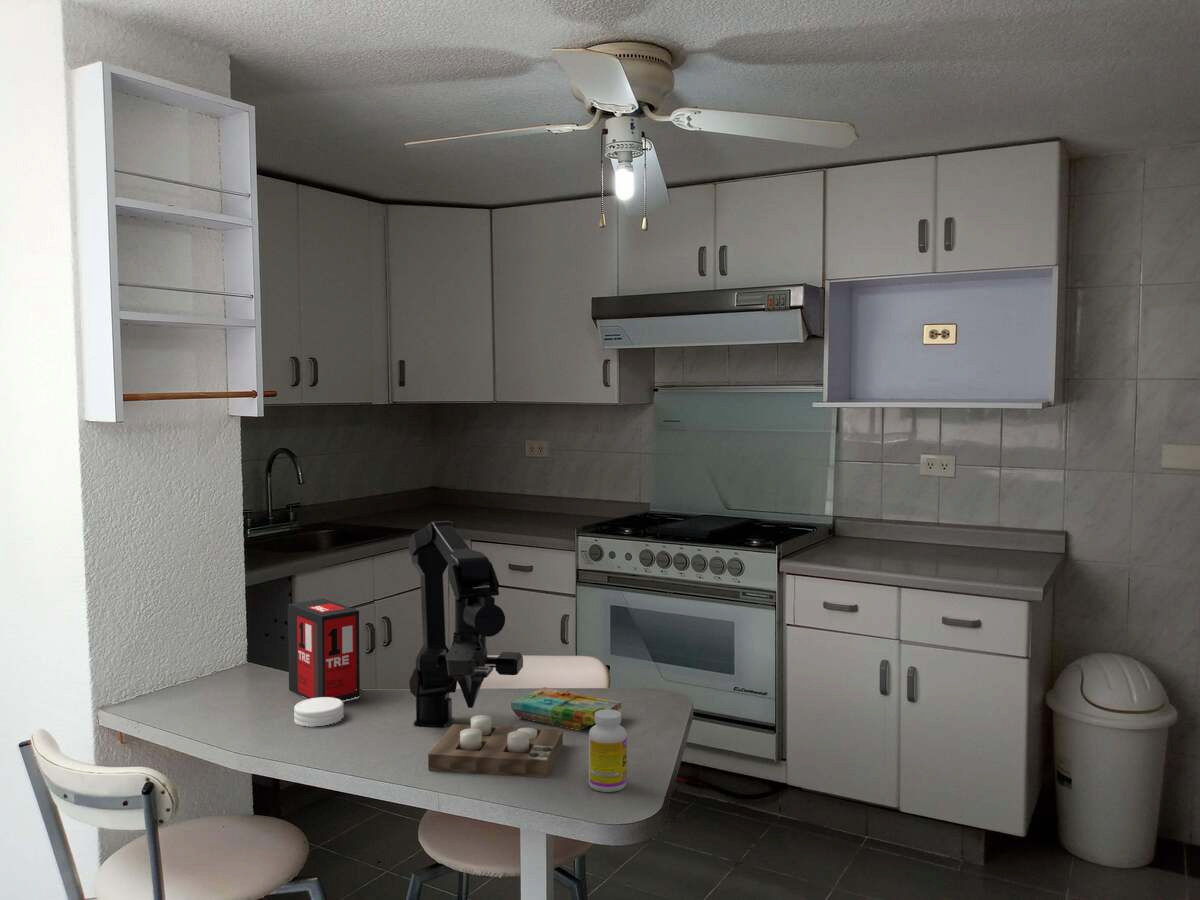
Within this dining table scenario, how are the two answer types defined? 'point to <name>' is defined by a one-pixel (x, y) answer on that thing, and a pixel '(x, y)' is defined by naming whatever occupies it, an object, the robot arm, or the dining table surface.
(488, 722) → the inner button
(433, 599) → the robot arm
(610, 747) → the supplement bottle
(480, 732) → the outer button
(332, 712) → the white short cylinder
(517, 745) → the outer button
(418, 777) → the dining table surface
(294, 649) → the cleaning product box
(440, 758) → the button board
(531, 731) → the inner button
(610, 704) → the puzzle game
